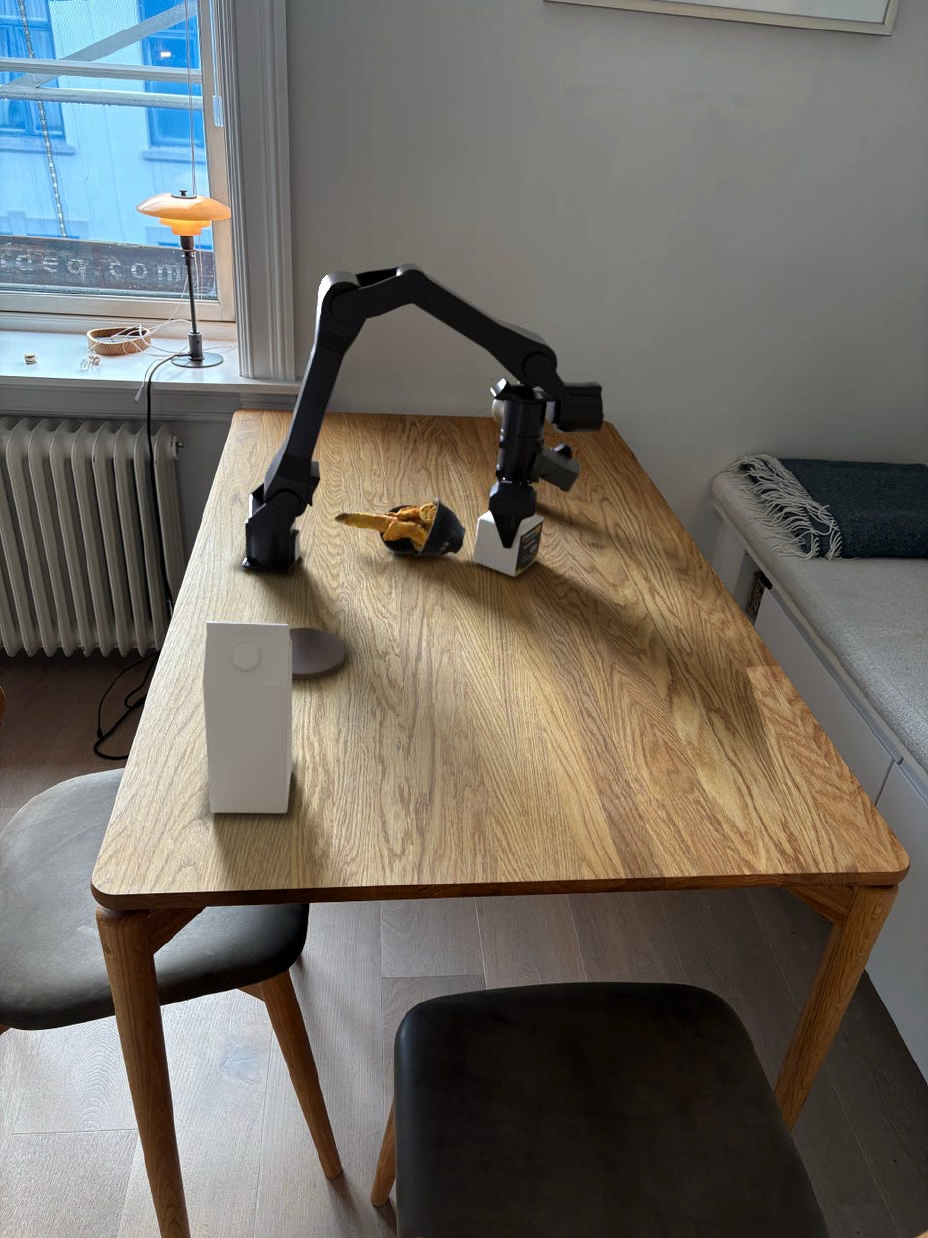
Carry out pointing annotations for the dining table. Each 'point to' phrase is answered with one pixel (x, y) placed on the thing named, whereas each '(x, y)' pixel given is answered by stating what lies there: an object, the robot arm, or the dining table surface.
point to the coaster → (315, 653)
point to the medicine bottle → (502, 558)
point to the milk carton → (248, 716)
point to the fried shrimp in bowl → (413, 528)
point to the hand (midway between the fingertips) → (509, 534)
